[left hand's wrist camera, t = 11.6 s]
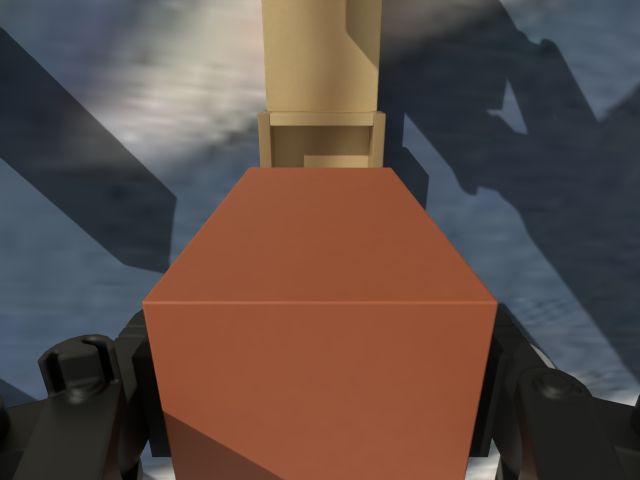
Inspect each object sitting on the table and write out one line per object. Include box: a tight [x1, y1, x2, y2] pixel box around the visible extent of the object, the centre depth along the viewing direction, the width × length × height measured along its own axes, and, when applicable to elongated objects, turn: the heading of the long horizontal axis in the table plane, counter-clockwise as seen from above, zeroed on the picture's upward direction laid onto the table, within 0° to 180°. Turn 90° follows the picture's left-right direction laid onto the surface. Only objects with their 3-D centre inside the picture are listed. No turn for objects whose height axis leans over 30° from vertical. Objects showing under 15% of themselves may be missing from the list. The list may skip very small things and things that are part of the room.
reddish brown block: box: [142, 168, 498, 480], centre depth 13 cm, size 6×6×11 cm
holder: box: [258, 0, 386, 168], centre depth 24 cm, size 9×28×13 cm, turn 0°
